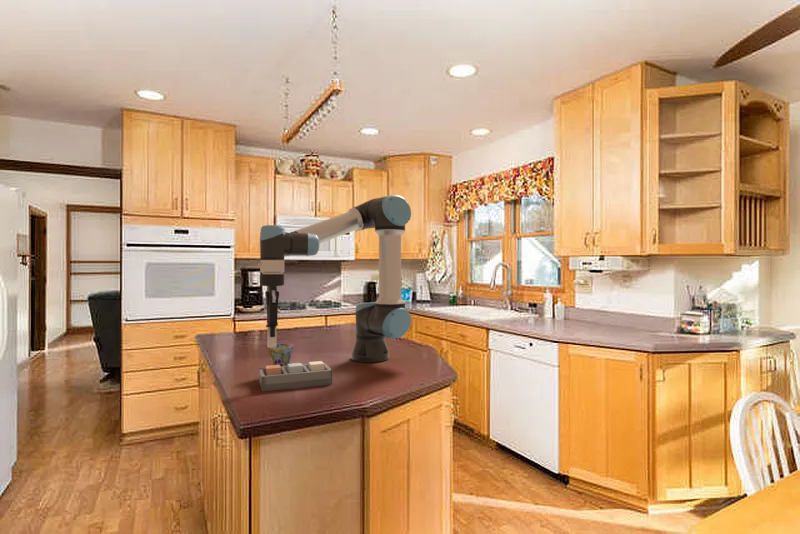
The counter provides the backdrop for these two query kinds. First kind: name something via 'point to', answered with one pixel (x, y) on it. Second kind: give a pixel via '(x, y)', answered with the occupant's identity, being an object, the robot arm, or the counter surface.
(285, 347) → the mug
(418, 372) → the counter surface
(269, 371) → the key
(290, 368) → the key middle
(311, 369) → the key
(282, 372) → the grey compartment tray
